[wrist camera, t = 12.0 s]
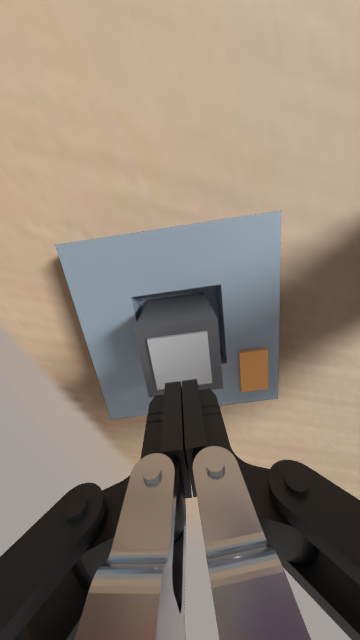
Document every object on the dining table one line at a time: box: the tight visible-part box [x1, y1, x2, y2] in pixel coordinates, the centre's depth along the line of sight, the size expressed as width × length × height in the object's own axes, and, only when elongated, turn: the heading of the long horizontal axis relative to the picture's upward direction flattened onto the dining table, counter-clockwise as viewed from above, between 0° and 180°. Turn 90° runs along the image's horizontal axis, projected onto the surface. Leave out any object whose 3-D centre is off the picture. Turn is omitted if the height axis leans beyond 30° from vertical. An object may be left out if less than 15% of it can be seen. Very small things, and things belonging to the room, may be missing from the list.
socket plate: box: [55, 211, 281, 419], centre depth 19 cm, size 16×16×3 cm
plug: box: [134, 292, 223, 398], centre depth 17 cm, size 5×5×7 cm
